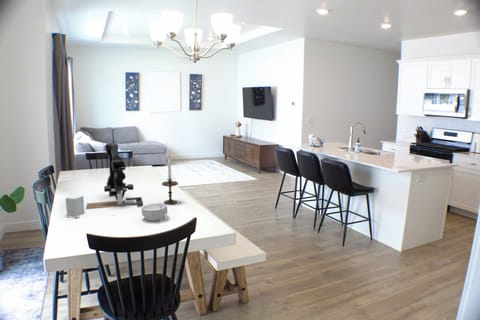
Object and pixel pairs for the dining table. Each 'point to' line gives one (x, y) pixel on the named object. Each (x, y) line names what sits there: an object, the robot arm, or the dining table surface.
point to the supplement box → (75, 206)
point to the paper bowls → (154, 211)
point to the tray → (138, 201)
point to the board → (104, 204)
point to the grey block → (119, 197)
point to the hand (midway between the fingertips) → (119, 200)
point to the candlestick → (169, 185)
